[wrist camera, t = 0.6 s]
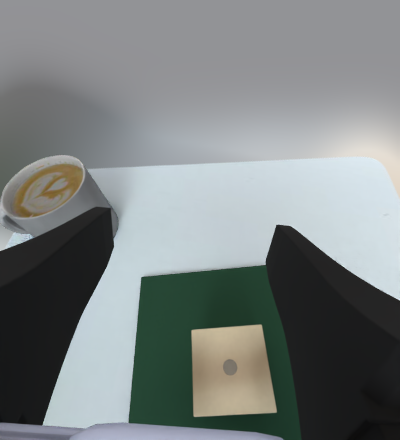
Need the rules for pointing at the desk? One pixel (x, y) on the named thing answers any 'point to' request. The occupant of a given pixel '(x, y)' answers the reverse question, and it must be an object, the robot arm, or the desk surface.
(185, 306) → the dice mat
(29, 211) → the coffee mug
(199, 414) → the die
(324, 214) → the desk surface
